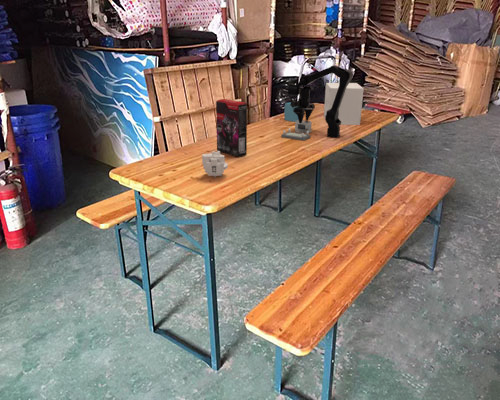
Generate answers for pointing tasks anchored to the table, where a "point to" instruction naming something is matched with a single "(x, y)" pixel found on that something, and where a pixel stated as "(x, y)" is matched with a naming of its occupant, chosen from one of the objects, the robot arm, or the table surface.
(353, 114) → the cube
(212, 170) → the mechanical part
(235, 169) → the table surface
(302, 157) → the table surface
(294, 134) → the pin tray
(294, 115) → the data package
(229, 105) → the graphics card box
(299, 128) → the block
